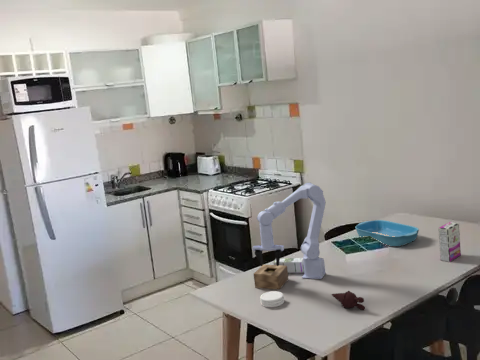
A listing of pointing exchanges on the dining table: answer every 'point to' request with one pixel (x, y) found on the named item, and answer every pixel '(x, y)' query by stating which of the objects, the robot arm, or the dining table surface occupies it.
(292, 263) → the syrup box
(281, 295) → the coaster
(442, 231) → the candy bar box
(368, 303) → the dining table surface
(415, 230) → the casserole dish
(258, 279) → the box
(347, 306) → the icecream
